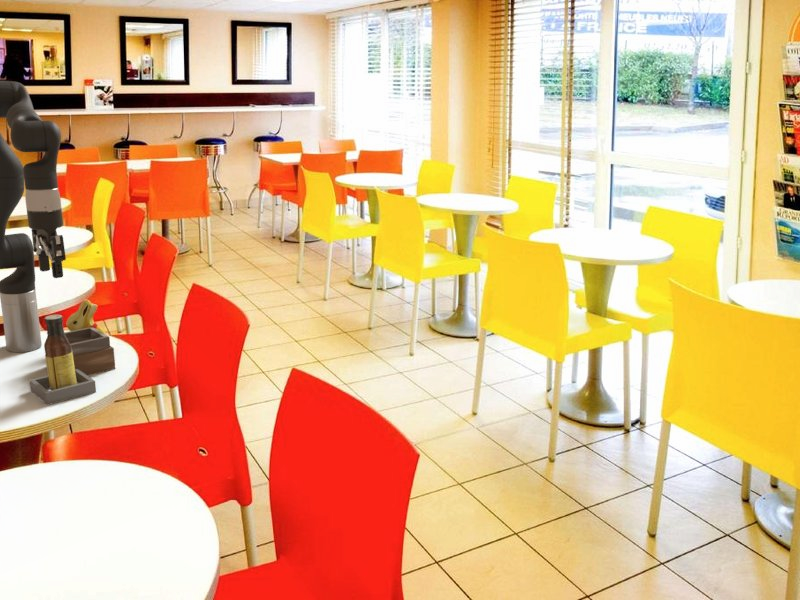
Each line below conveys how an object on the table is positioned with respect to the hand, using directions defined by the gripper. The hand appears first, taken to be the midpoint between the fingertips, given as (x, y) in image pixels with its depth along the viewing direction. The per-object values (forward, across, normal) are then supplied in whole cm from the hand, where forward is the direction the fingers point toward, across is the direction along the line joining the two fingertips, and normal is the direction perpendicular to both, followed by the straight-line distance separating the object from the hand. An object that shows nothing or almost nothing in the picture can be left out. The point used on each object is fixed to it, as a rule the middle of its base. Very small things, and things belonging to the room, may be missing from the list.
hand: (51, 274), depth 186 cm
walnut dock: (+30, -13, +10) cm, 34 cm away
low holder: (+30, 0, 0) cm, 31 cm away
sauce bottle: (+31, 0, 0) cm, 31 cm away
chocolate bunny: (+30, -25, +16) cm, 43 cm away
